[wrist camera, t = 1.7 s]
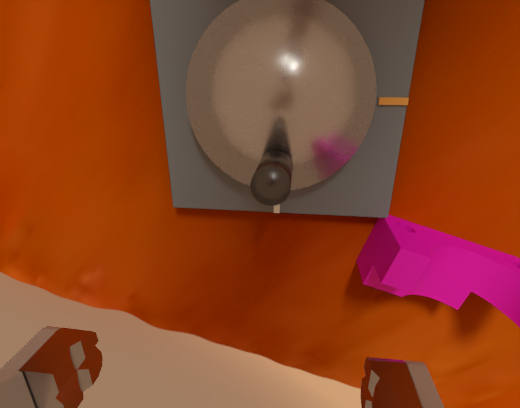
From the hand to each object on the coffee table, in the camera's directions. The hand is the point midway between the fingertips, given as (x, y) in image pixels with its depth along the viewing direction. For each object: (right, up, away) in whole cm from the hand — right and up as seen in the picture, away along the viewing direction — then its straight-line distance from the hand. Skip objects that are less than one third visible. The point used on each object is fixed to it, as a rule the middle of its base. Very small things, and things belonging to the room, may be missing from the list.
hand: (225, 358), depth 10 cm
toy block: (+20, -1, +25) cm, 32 cm away
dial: (+3, +14, +19) cm, 23 cm away
